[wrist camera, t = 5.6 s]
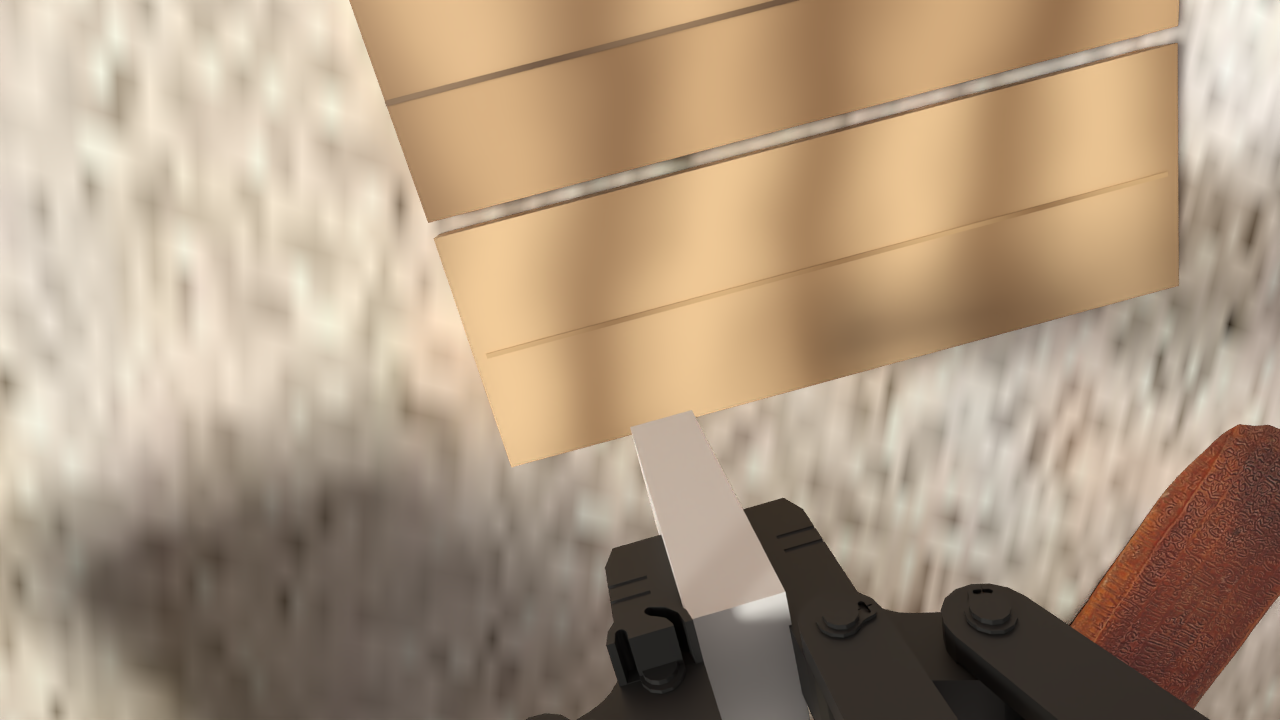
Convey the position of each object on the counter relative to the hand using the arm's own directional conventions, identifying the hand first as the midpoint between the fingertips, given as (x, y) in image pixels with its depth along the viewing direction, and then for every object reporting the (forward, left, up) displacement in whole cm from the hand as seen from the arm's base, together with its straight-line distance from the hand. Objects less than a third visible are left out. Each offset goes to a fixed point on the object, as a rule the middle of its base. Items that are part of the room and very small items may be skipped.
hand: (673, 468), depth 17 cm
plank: (+7, +1, -9) cm, 11 cm away
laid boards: (+7, +9, -9) cm, 15 cm away
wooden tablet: (+19, -23, -10) cm, 31 cm away
